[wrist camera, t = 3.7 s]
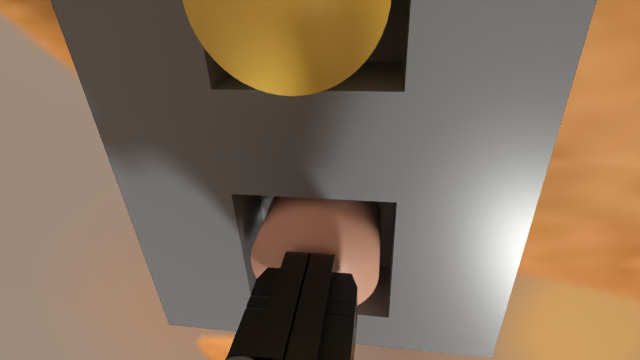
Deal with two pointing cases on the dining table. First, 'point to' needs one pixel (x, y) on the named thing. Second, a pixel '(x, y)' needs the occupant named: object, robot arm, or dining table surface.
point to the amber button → (289, 40)
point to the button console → (339, 155)
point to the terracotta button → (323, 236)
